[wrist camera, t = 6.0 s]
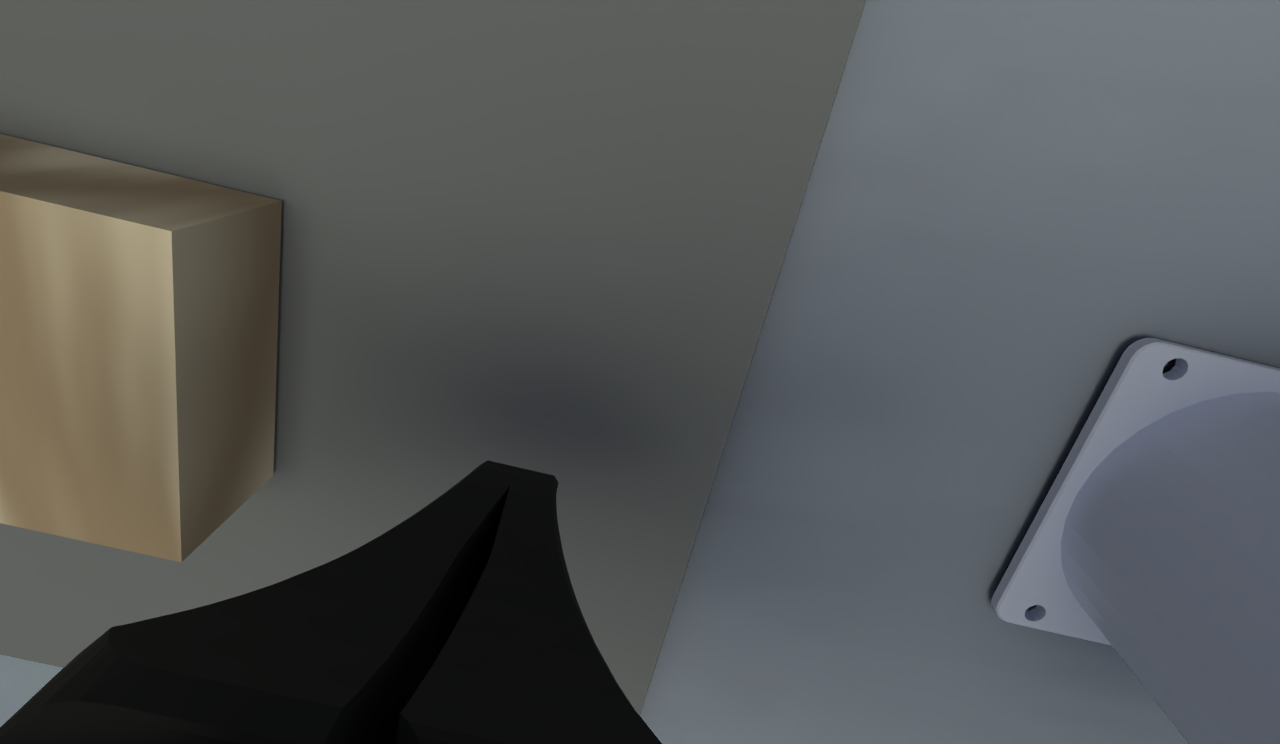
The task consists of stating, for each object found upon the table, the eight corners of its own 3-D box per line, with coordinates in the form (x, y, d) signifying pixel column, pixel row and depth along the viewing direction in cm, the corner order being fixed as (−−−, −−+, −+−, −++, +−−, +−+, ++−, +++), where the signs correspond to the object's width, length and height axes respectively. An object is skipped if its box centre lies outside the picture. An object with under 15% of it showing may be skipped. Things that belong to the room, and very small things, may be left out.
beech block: (171, 231, 12) (-350, 109, 11) (181, 562, 14) (-240, 470, 14) (285, 200, 15) (-114, 104, 15) (276, 471, 18) (-62, 396, 17)
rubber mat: (900, -125, 13) (907, -133, 12) (619, 771, 22) (618, 783, 21) (-342, -458, 12) (-376, -476, 11) (-95, 621, 21) (-109, 631, 20)
